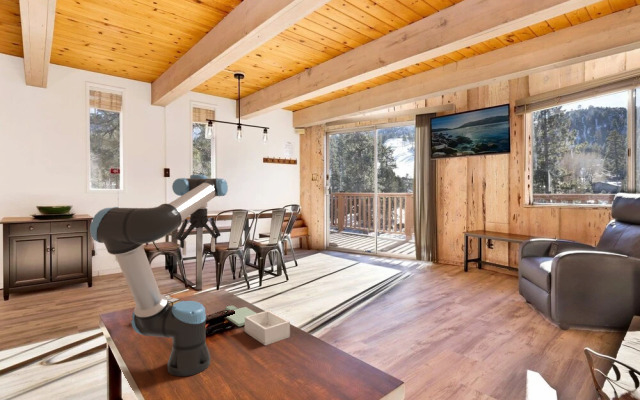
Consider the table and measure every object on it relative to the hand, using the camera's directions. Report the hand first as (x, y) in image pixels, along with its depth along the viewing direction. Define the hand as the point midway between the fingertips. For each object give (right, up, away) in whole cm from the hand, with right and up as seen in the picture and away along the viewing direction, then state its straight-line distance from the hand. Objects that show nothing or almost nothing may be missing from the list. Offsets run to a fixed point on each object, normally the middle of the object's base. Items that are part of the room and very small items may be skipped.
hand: (199, 253), depth 156 cm
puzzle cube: (-22, -36, +14) cm, 45 cm away
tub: (+32, -37, -2) cm, 49 cm away
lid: (+15, -36, +17) cm, 43 cm away
